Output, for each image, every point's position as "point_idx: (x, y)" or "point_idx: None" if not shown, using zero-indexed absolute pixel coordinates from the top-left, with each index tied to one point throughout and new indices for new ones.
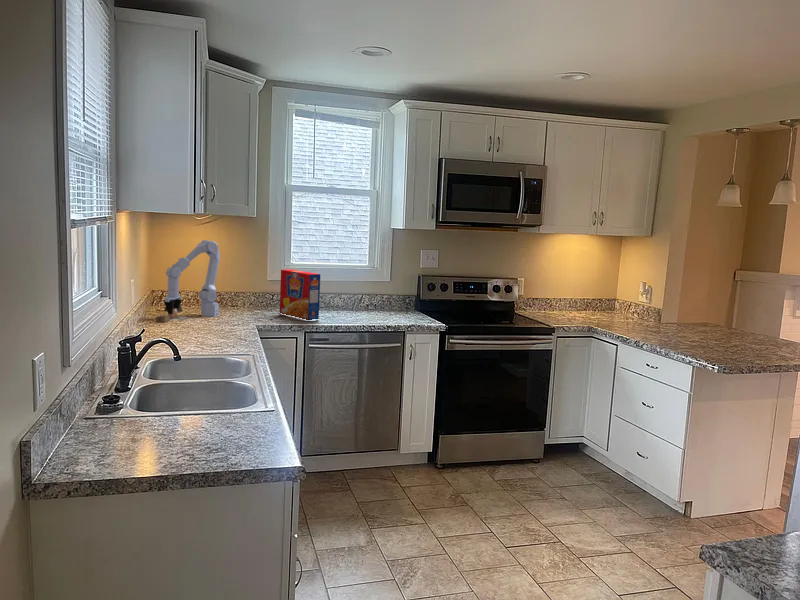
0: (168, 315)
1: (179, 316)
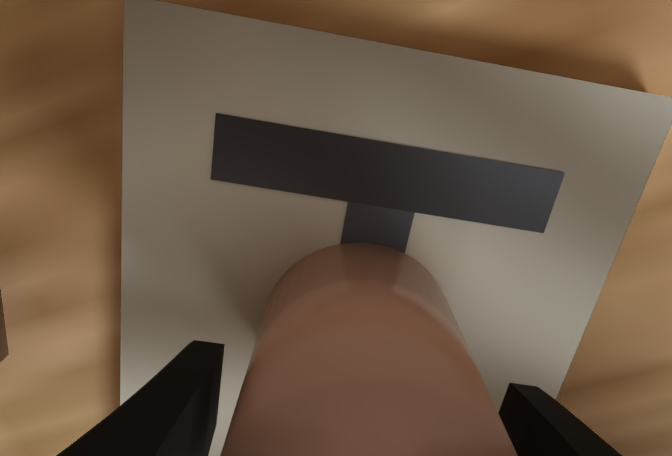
0: (281, 298)
1: (544, 391)
